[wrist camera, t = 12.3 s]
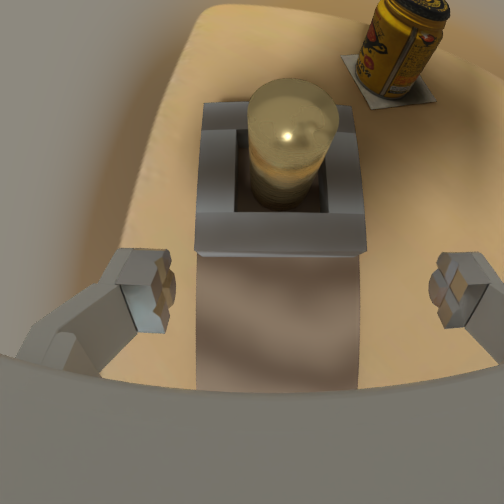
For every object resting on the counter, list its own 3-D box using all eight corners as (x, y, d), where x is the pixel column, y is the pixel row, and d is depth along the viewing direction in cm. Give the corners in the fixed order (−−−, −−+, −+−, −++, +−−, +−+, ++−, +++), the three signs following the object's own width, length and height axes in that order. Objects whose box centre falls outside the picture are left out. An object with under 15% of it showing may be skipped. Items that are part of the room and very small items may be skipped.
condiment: (339, 56, 27) (365, -33, 15) (403, 52, 27) (441, -22, 15) (370, 111, 26) (417, 21, 14) (435, 103, 26) (491, 32, 14)
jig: (206, 125, 26) (199, 99, 22) (344, 127, 26) (355, 102, 22) (199, 415, 22) (189, 434, 18) (351, 413, 22) (366, 430, 18)
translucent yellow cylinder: (276, 147, 24) (287, 65, 14) (319, 182, 24) (356, 114, 14) (238, 185, 24) (227, 114, 14) (282, 223, 23) (300, 171, 14)
